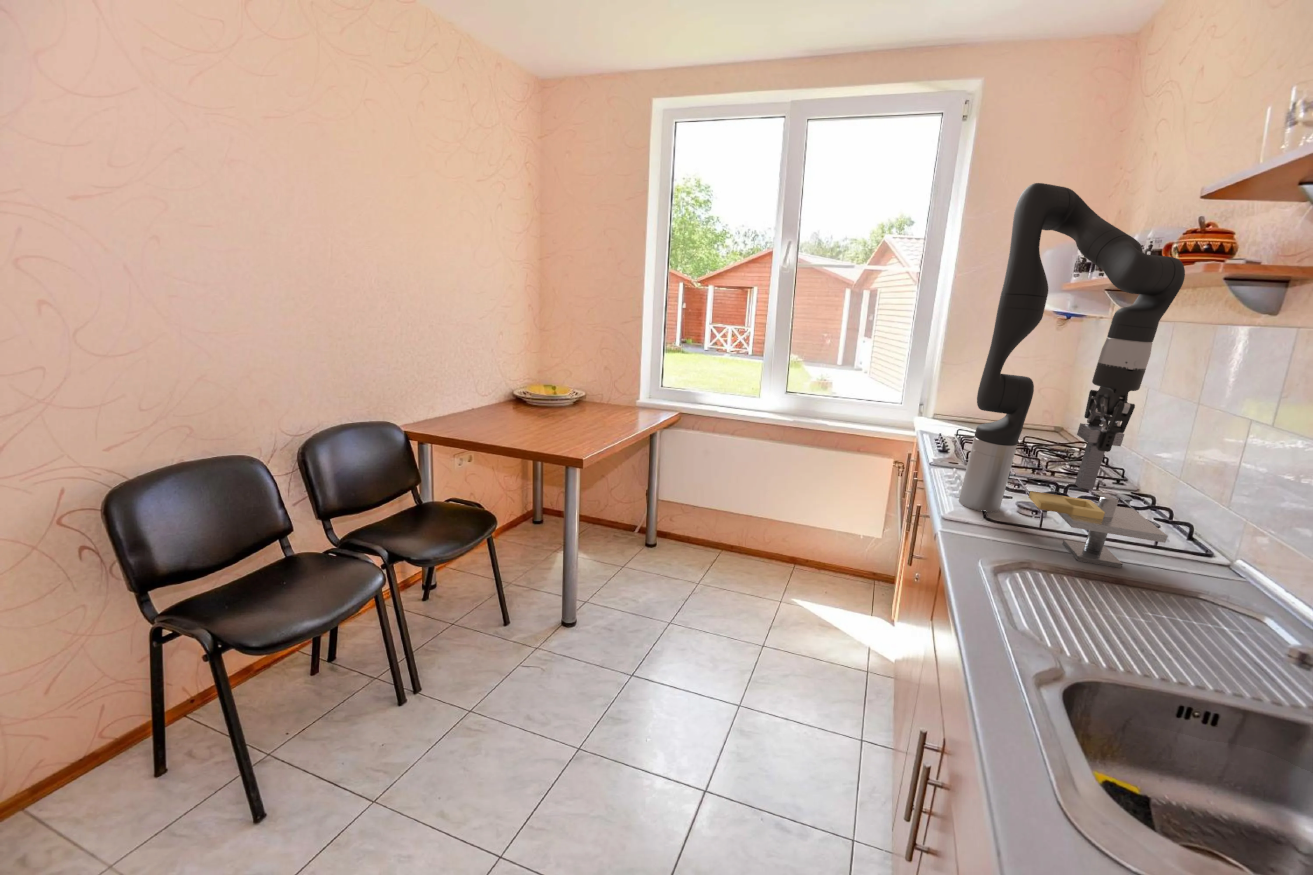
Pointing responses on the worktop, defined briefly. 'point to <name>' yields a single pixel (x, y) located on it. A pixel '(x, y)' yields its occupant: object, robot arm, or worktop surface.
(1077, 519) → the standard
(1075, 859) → the worktop surface
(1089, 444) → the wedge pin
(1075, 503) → the bracket
